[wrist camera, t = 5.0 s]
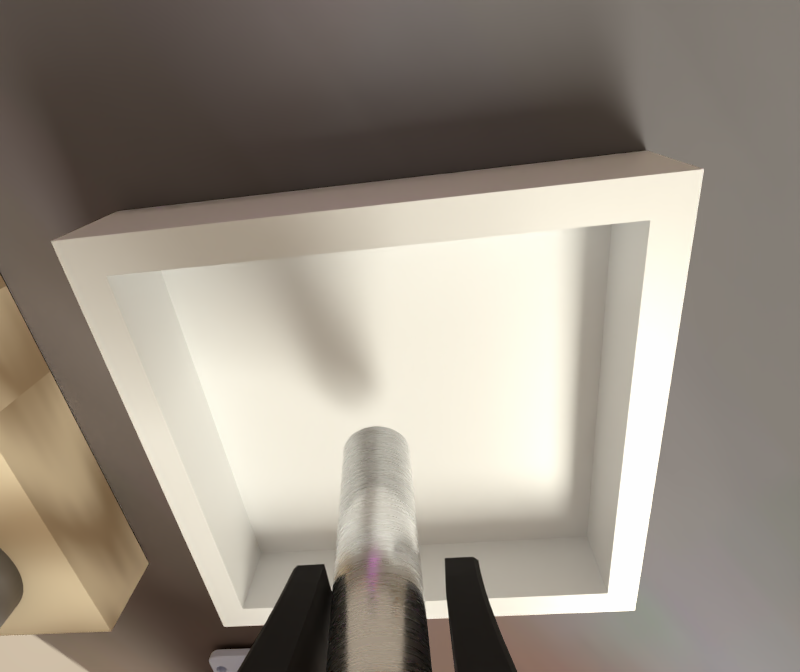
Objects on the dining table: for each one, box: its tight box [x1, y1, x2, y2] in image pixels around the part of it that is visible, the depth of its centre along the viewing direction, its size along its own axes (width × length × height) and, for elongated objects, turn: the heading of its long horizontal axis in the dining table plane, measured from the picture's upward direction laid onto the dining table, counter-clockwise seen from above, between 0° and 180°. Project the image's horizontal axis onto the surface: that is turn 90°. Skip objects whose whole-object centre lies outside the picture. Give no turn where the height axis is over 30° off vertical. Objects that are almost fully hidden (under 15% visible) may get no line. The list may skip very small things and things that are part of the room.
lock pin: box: [326, 426, 432, 672], centre depth 11 cm, size 3×3×8 cm
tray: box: [51, 151, 704, 627], centre depth 16 cm, size 15×15×3 cm
